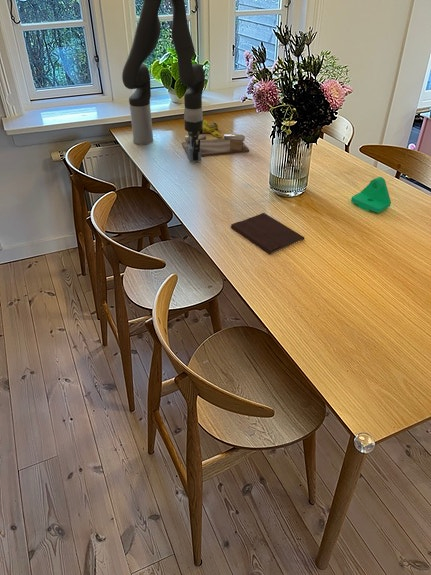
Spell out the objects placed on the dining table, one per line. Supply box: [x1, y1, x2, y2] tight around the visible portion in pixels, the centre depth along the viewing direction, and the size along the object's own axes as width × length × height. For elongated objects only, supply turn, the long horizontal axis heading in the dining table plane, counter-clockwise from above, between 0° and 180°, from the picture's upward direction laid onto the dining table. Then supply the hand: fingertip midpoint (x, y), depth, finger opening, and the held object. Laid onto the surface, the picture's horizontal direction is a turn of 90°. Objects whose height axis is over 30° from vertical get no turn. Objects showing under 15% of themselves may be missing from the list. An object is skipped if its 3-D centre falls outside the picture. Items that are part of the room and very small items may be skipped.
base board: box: [181, 133, 250, 157], centre depth 204 cm, size 16×28×6 cm, turn 104°
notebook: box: [230, 212, 305, 256], centre depth 148 cm, size 15×20×2 cm
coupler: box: [186, 144, 202, 163], centre depth 193 cm, size 5×5×6 cm
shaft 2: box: [223, 133, 246, 142], centre depth 201 cm, size 2×9×2 cm, turn 79°
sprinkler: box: [198, 118, 223, 139], centre depth 220 cm, size 19×4×15 cm
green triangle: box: [350, 176, 392, 214], centre depth 160 cm, size 12×8×10 cm, turn 41°
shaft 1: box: [184, 133, 207, 142], centre depth 201 cm, size 2×9×2 cm, turn 104°
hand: (194, 157), depth 195 cm, fingers closed on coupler, 5 cm apart
